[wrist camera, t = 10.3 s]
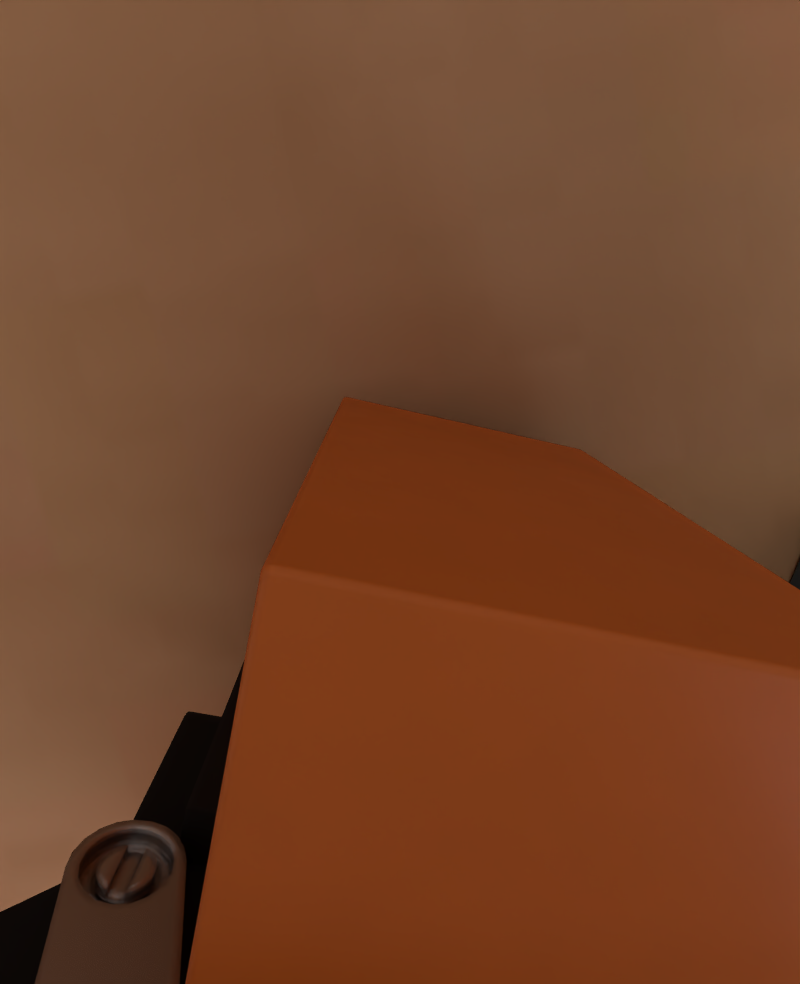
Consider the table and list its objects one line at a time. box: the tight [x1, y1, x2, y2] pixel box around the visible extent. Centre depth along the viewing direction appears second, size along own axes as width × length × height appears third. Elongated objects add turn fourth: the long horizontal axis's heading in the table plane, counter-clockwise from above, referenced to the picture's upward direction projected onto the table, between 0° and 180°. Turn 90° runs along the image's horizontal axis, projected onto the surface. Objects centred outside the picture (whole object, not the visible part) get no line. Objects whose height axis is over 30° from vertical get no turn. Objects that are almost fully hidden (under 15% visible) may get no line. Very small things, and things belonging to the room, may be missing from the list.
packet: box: [185, 397, 800, 984], centre depth 9 cm, size 4×12×8 cm, turn 167°
